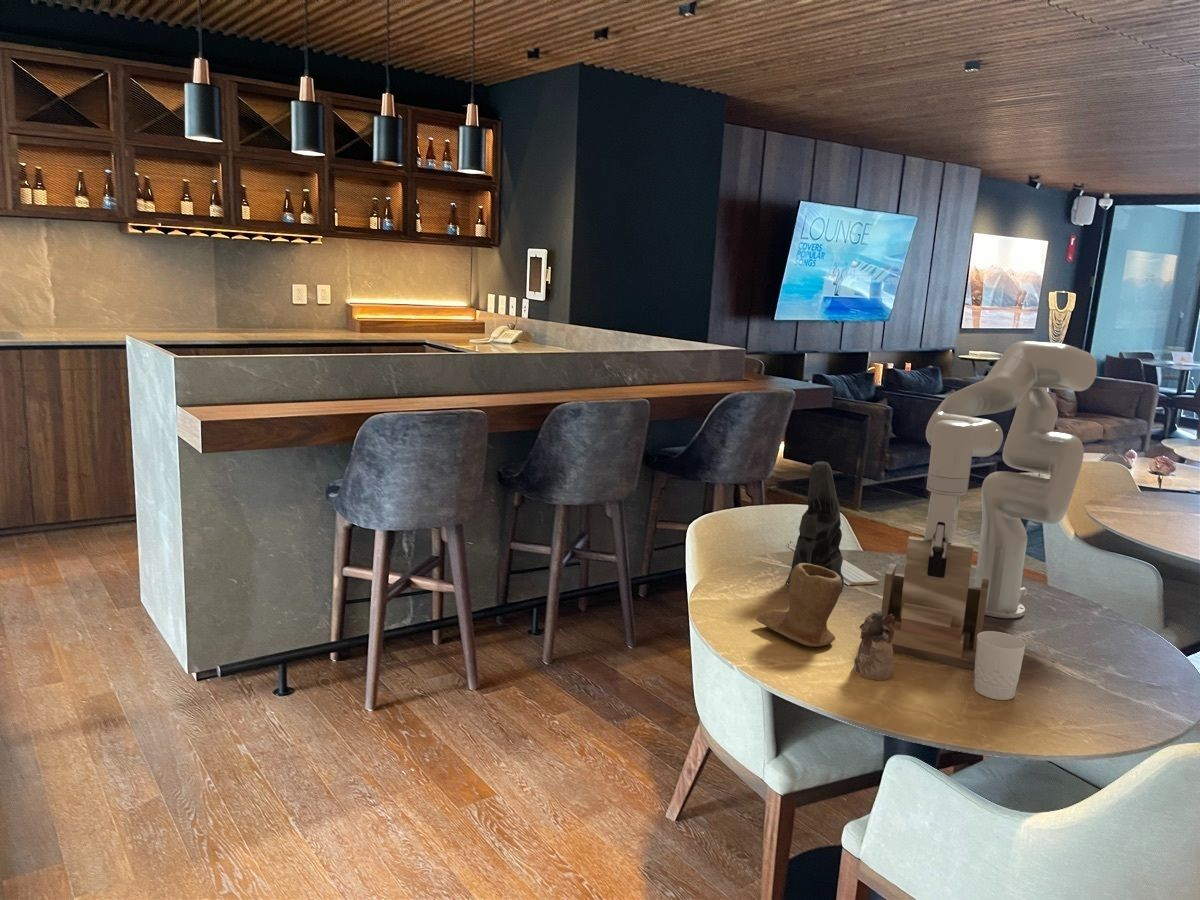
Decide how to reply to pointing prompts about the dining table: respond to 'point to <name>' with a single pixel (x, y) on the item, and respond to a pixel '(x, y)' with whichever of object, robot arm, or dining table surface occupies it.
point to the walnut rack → (971, 621)
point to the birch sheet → (937, 578)
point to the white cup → (998, 664)
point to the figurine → (875, 648)
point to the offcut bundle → (929, 631)
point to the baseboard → (852, 573)
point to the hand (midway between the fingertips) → (937, 571)
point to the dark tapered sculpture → (820, 524)
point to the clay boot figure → (807, 606)
